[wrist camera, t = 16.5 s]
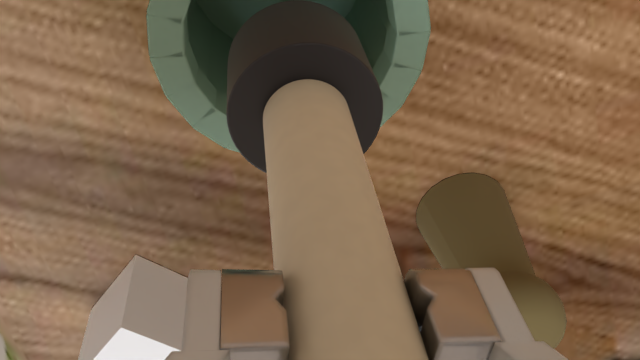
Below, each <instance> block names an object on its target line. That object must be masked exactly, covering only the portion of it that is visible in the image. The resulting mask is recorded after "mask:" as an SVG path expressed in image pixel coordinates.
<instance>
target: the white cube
mask: <svg viewBox="0 0 640 360" xmlns="http://www.w3.org/2000/svg"><path fill="white" fill-rule="evenodd" d="M187 282H188V278H187V277H185V276H182V275H180V274H178V273H176V272H173V271H171V270H169V269H167V268H165V267H162V266H160V265H158V264H156V263H153V262H151V261H149V260H147V259H145V258H142V257H140V256H138V255H135V256H134V257H133V259H132V260H131V261H130V262H129V263H128V265H127V266H126V267H125V268H124V270H123V271H122V272H121V273H120V275H119V276H118V277H117V278H116V279H115V281H114V282H113V283H112V284H111V286H110V287H109V288H108V289H107V291H106V292H105V293H104V294H103V295H102V297H101V298H100V299H99V300H98V302H97V303H96V304H95V305H94V306H93V308H92V309H91V312H90V316H89V320H88V324H87V328H86V331H85V335H84V339H83V343H82V347H81V350H80V354H79V358H78V360H165V358H166V357H167V356H168V355H169V354H170V353H171V352H172V351H181V350H182V338H183V327H184V316H185V305H186V293H187Z"/></svg>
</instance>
